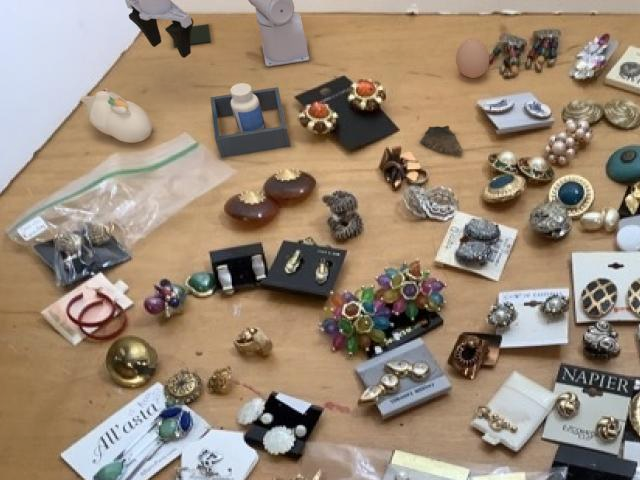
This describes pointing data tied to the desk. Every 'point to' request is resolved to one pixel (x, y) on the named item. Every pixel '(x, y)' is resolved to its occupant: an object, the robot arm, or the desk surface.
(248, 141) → the open box
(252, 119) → the pill bottle
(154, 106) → the desk surface
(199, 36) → the pad
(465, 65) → the egg
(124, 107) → the cat figurine
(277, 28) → the robot arm
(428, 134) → the arrowhead
